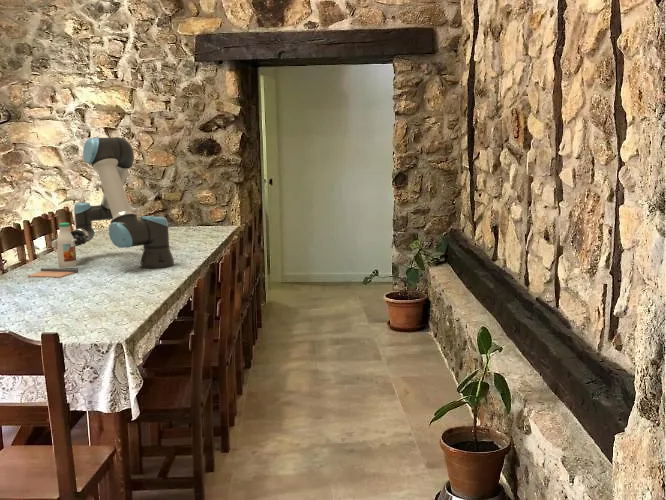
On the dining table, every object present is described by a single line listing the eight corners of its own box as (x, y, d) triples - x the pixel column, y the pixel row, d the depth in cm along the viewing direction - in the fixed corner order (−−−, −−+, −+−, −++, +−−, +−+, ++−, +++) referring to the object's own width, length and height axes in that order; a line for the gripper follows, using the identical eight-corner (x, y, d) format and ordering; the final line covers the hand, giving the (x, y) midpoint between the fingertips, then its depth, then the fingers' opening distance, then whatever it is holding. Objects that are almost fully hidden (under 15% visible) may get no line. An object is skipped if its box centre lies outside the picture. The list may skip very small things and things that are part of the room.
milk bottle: (57, 268, 308) (54, 224, 305) (59, 265, 315) (56, 222, 312) (75, 267, 310) (72, 223, 307) (77, 264, 317) (74, 221, 314)
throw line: (78, 272, 305) (78, 269, 305) (76, 273, 304) (76, 269, 304) (42, 271, 309) (42, 268, 309) (40, 272, 308) (40, 268, 308)
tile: (73, 273, 303) (73, 272, 303) (60, 277, 294) (60, 276, 294) (41, 272, 307) (41, 271, 307) (27, 276, 297) (27, 275, 297)
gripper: (100, 244, 330) (86, 251, 307) (57, 245, 329) (39, 253, 306) (99, 228, 328) (84, 235, 306) (55, 230, 327) (38, 236, 305)
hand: (62, 244), depth 306 cm, fingers closed on milk bottle, 8 cm apart
